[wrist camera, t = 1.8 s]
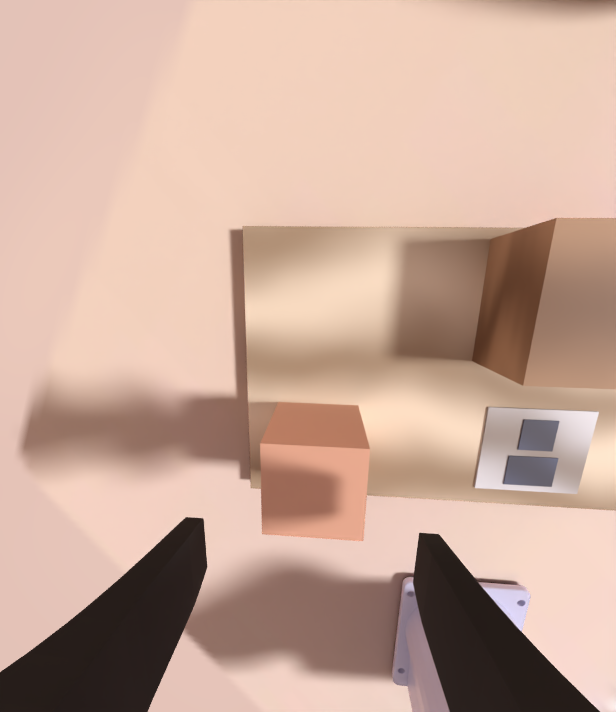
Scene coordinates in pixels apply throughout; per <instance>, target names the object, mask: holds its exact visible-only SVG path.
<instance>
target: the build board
mask: <svg viewBox="0 0 616 712" xmlns="http://www.w3.org/2000/svg"><path fill="white" fill-rule="evenodd" d="M520 229H524V228H466V227H284V226H243V258H244V290H245V322H246V354H247V386H248V418H249V450H250V482H251V488H257V489H261V459H260V443H261V440H262V438H263V436H264V434H265V431H266V429H267V427H268V424H269V422H270V420H271V418H272V415H273V413H274V411H275V408H276V406H277V404H278V402H291V403H314V404H338V405H358V406H359V410H360V414H361V417H362V421H363V425H364V428H365V432H366V436H367V439H368V443H369V447H370V458H369V471H368V484H367V495H371V496H387V497H403V498H420V499H436V500H452V501H469V502H485V503H501V504H518V505H534V506H550V507H567V508H583V509H599V510H616V389H591V388H564V387H537V386H522V385H520V384H518V383H516V382H514V381H512V380H510V379H508V378H506V377H504V376H502V375H500V374H497V373H495V372H493V371H491V370H489V369H487V368H485V367H483V366H481V365H479V364H477V363H475V362H473V361H472V357H473V351H474V344H475V338H476V331H477V325H478V318H479V312H480V305H481V298H482V292H483V285H484V279H485V272H486V266H487V259H488V253H489V246H490V240H491V239H492V238H495V237H498V236H501V235H505V234H508V233H511V232H514V231H517V230H520Z"/></svg>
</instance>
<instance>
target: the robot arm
mask: <svg viewBox="0 0 616 712" xmlns="http://www.w3.org/2000/svg"><path fill="white" fill-rule="evenodd" d="M206 569H207V558H206V545H205V532H204V520H203V518H188V517H186V518H185V519H184V520H183V521H181V522H180V523H179V524H178V525H177V526H176V527H175V528H174V529H173V530H172V531H171V532H170V533H169V534H168V535H167V536H165V537H164V538H163V539H162V540H161V541H160V542H159V543H158V544H157V545H156V546H155V547H154V548H153V549H152V550H151V551H150V552H148V553H147V554H146V555H145V556H144V557H143V558H142V559H141V560H140V561H139V562H138V563H136V564H135V565H134V566H133V567H132V568H131V569H130V570H129V571H128V572H127V573H126V574H124V575H123V576H122V577H121V578H120V579H119V580H118V581H117V582H115V583H114V584H113V585H112V586H111V587H110V588H108V590H106V591H105V592H104V593H102V594H101V595H100V596H99V597H98V598H97V599H95V600H94V601H93V602H92V603H91V604H90V605H88V606H87V607H86V608H85V609H84V610H82V611H81V612H80V613H79V614H78V615H76V616H75V617H74V618H73V619H71V620H70V621H69V622H68V623H67V624H65V625H64V626H62V627H61V628H60V629H59V630H57V631H56V632H55V633H53V634H52V635H51V636H50V637H48V638H47V639H45V640H44V641H43V642H42V643H40V644H39V645H38V646H36V647H35V648H34V649H32V650H31V651H29V652H28V653H27V654H26V655H24V656H23V657H21V658H20V659H18V660H17V661H15V662H14V663H13V664H11V665H10V666H8V667H7V668H6V669H4V670H3V671H1V672H0V712H148V709H149V707H150V704H151V702H152V700H153V697H154V695H155V693H156V691H157V688H158V686H159V684H160V682H161V679H162V677H163V675H164V673H165V670H166V668H167V666H168V663H169V661H170V659H171V657H172V655H173V653H174V650H175V648H176V646H177V643H178V641H179V639H180V637H181V635H182V632H183V630H184V628H185V625H186V623H187V621H188V619H189V616H190V614H191V612H192V609H193V607H194V605H195V602H196V599H197V596H198V593H199V591H200V588H201V585H202V582H203V579H204V575H205V572H206ZM529 601H530V593H529V592H528V590H527V589H526V587H524V586H521V585H510V584H497V583H484V582H477V580H476V579H475V578H474V577H473V576H472V574H471V573H470V572H469V571H468V569H467V568H466V567H465V566H464V565H463V563H462V562H461V561H460V560H459V558H458V557H457V556H456V555H455V553H454V552H453V551H452V550H451V549H450V547H449V546H448V545H447V544H446V542H445V541H444V540H443V539H442V537H441V536H440V535H439V534H428V533H419V540H418V548H417V555H416V563H415V571H414V577H407V578H405V579H404V580H403V584H402V593H401V601H400V610H399V618H398V627H397V635H396V643H395V652H394V660H393V669H392V677H393V682H394V683H395V684H397V685H402V686H408V691H409V696H410V701H411V706H412V711H413V712H600V711H599V710H598V709H597V708H596V707H595V706H594V705H592V704H591V703H590V702H589V701H588V700H587V699H586V698H585V697H584V696H583V695H582V694H581V693H580V692H579V691H578V690H577V689H576V688H575V687H574V686H573V685H572V684H571V683H570V682H569V681H568V680H567V679H566V678H565V677H564V676H563V675H562V674H561V673H560V672H559V671H558V670H557V669H556V668H555V667H554V666H553V665H552V664H551V663H550V662H549V661H548V660H547V659H546V657H545V656H544V655H543V654H542V653H541V652H540V651H539V650H538V649H537V648H536V647H535V646H534V645H533V644H532V643H531V642H530V640H529V639H528V638H527V637H526V636H525V635H524V634H523V633H522V629H523V625H524V621H525V617H526V613H527V609H528V605H529Z"/></svg>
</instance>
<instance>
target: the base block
mask: <svg viewBox="0 0 616 712" xmlns="http://www.w3.org/2000/svg"><path fill="white" fill-rule="evenodd" d="M472 361H473V362H475V363H477V364H479V365H481V366H483V367H485V368H487V369H489V370H491V371H493V372H495V373H497V374H500V375H502V376H504V377H506V378H508V379H510V380H512V381H514V382H516V383H518V384H520V385H522V386H537V387H564V388H591V389H616V218H555V219H552V220H549V221H546V222H543V223H539V224H536V225H533V226H530V227H527V228H524V229H520V230H517V231H514V232H511V233H508V234H505V235H501V236H498V237H495V238H492V239H491V240H490V246H489V253H488V259H487V266H486V272H485V279H484V285H483V292H482V298H481V305H480V312H479V318H478V325H477V331H476V338H475V344H474V351H473V357H472Z"/></svg>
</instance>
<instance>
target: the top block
mask: <svg viewBox="0 0 616 712" xmlns="http://www.w3.org/2000/svg"><path fill="white" fill-rule="evenodd" d="M369 458H370V447H369V443H368V439H367V436H366V432H365V428H364V425H363V421H362V417H361V414H360V410H359V406H358V405H338V404H314V403H291V402H278V404H277V406H276V408H275V411H274V413H273V415H272V418H271V420H270V422H269V424H268V427H267V429H266V431H265V434H264V436H263V438H262V440H261V443H260V459H261V505H262V534H268V535H282V536H297V537H311V538H325V539H339V540H353V541H363V538H364V524H365V511H366V498H367V484H368V471H369Z"/></svg>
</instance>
